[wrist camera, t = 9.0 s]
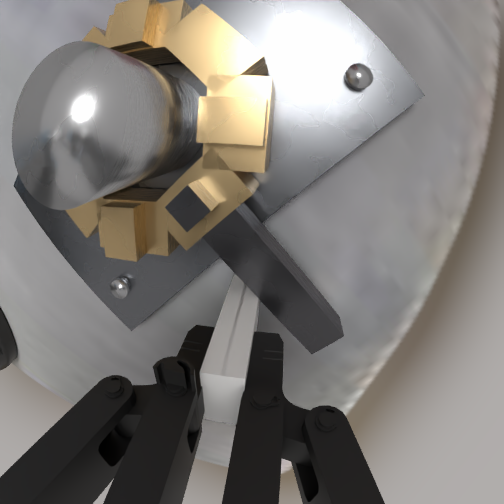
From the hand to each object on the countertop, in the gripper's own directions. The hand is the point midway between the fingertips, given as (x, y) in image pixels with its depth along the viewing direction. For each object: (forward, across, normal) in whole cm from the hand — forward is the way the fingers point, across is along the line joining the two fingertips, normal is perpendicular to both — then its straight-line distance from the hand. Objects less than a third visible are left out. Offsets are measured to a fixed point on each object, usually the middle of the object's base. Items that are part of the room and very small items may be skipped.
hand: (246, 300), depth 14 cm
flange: (+2, -5, +8) cm, 10 cm away
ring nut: (+1, -2, +6) cm, 6 cm away
